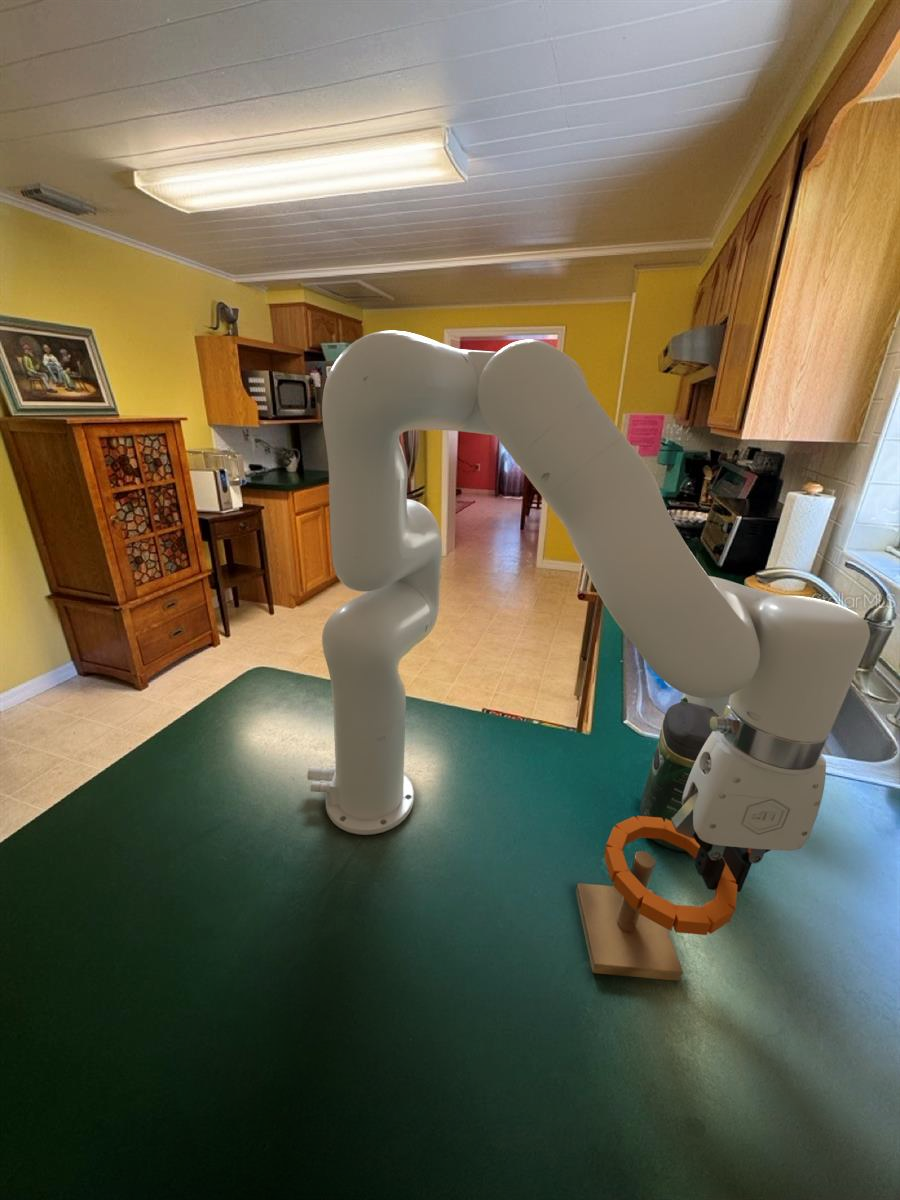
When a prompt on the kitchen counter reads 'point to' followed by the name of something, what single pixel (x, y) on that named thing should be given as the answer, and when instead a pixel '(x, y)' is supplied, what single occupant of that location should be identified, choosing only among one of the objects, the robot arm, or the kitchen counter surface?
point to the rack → (625, 931)
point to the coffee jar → (675, 761)
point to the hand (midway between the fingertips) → (717, 877)
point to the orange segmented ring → (653, 905)
